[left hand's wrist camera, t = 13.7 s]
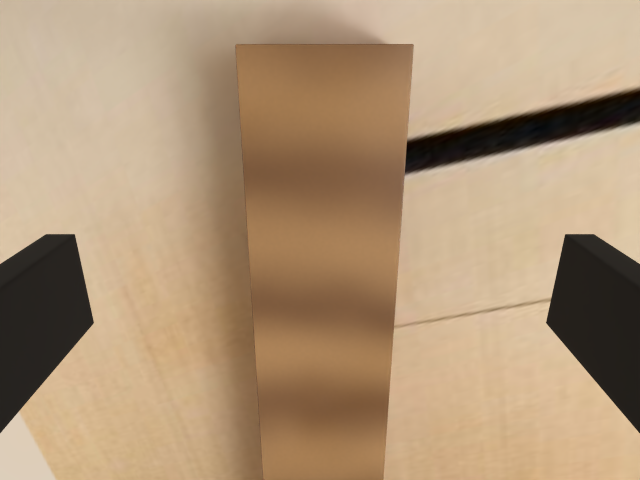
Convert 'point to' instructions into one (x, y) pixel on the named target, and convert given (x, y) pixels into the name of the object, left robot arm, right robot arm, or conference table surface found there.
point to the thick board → (323, 247)
